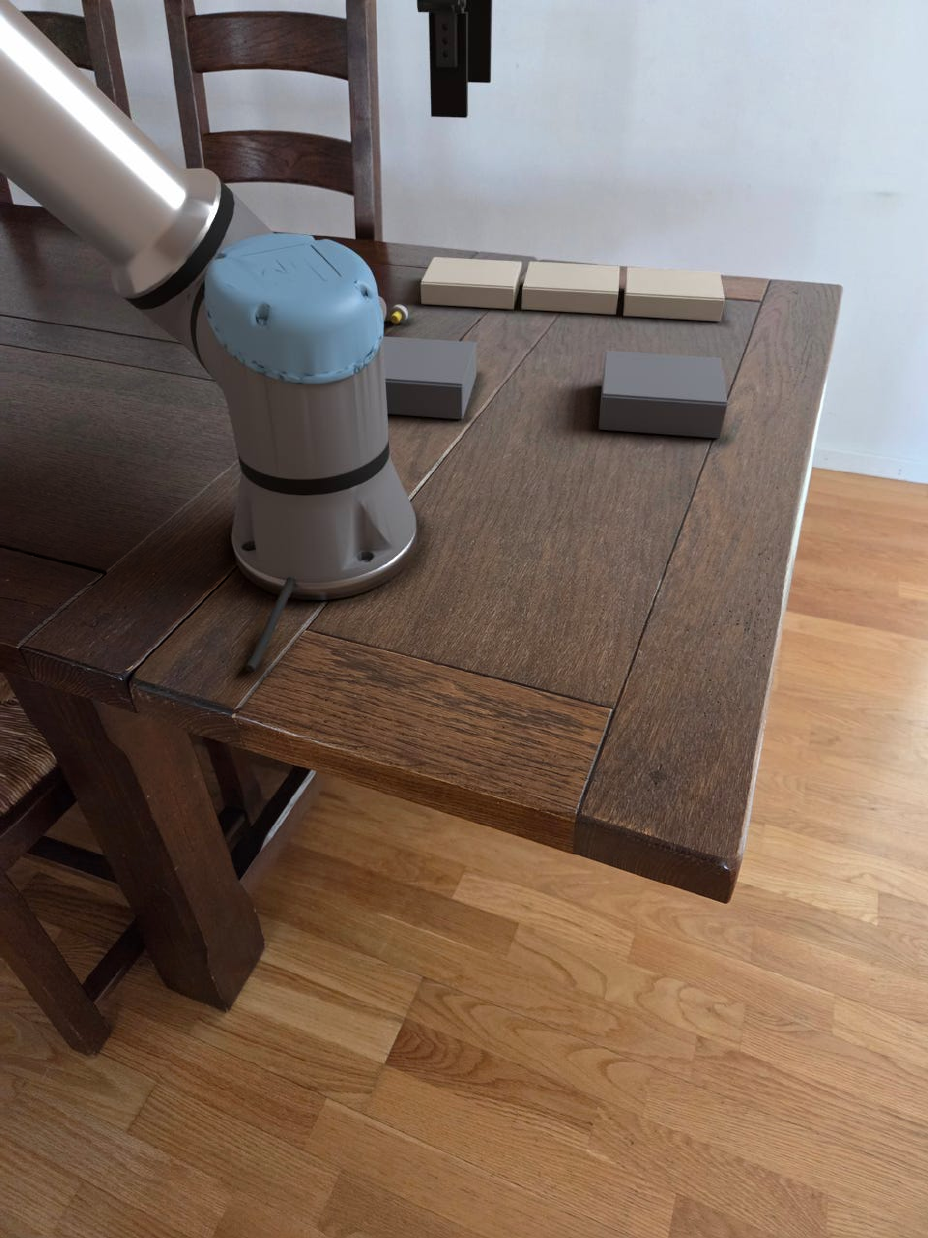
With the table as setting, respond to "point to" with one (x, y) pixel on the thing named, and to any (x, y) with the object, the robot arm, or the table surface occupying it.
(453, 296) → the cream flat block
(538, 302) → the beige flat box
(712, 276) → the cream lidded box
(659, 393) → the dark grey box
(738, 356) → the table surface
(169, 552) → the table surface
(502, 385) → the table surface
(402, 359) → the grey lidded box
